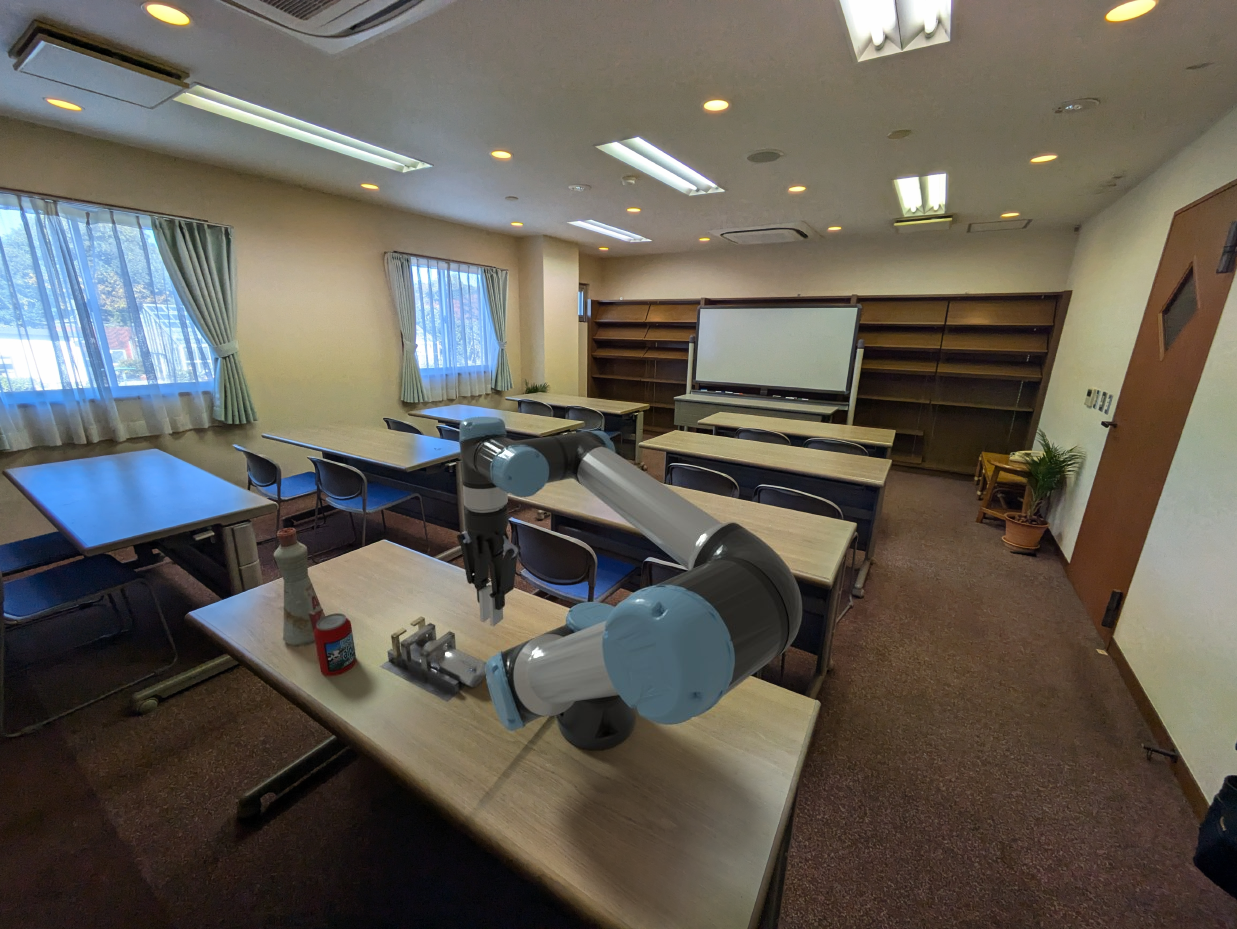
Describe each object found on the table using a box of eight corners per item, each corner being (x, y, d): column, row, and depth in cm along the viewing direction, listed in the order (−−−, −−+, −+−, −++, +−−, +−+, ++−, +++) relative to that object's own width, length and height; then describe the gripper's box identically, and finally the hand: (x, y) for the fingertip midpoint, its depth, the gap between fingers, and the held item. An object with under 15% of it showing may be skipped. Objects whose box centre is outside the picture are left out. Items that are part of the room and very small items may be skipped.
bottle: (281, 634, 110) (259, 526, 102) (325, 620, 116) (307, 516, 108) (286, 653, 104) (263, 540, 96) (332, 637, 110) (314, 529, 102)
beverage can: (340, 682, 96) (332, 633, 93) (313, 676, 98) (304, 627, 94) (364, 660, 103) (357, 613, 99) (337, 655, 104) (330, 609, 101)
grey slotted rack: (489, 668, 102) (488, 636, 99) (447, 705, 91) (444, 671, 89) (425, 639, 110) (422, 609, 108) (380, 670, 100) (376, 637, 98)
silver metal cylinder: (485, 679, 98) (486, 657, 97) (467, 692, 93) (469, 669, 92) (437, 656, 104) (438, 636, 103) (419, 667, 99) (420, 645, 98)
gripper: (533, 506, 82) (535, 621, 88) (470, 491, 88) (476, 599, 95) (504, 521, 75) (509, 643, 82) (439, 503, 82) (448, 618, 88)
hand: (491, 619), depth 88 cm, fingers open, 2 cm apart
